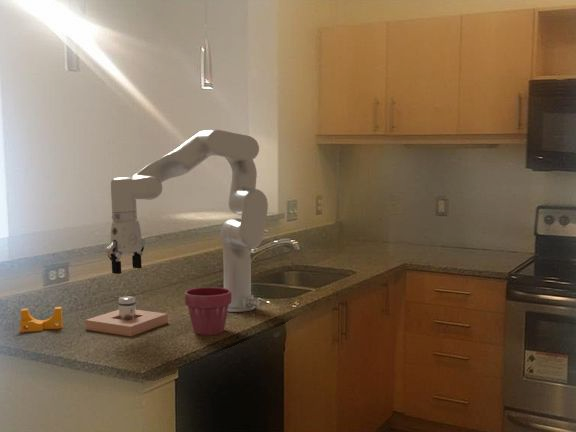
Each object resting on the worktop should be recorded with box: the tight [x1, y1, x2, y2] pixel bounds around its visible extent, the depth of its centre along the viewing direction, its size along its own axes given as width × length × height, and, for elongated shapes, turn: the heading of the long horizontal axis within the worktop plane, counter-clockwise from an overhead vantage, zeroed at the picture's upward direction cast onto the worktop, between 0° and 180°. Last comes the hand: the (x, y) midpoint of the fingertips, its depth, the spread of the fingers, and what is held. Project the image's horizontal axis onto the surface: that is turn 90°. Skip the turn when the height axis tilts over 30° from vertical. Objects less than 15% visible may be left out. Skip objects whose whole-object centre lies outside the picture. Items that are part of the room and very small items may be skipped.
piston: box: [117, 295, 137, 321], centre depth 223 cm, size 5×5×9 cm
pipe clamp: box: [19, 306, 64, 333], centre depth 220 cm, size 12×4×6 cm, turn 102°
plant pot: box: [184, 286, 232, 336], centre depth 216 cm, size 14×14×13 cm
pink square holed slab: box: [84, 309, 168, 337], centre depth 223 cm, size 18×18×3 cm
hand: (127, 270), depth 222 cm, fingers open, 9 cm apart
